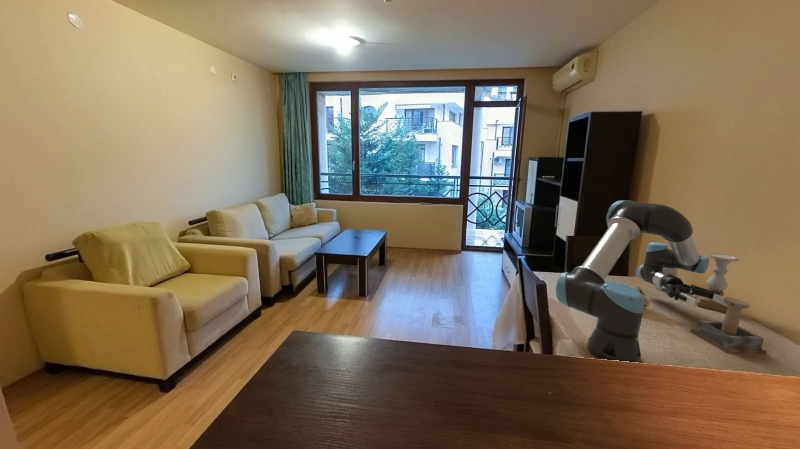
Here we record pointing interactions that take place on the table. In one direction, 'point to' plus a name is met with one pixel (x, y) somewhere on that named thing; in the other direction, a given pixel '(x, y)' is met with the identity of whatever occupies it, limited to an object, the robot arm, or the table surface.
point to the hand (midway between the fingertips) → (712, 303)
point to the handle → (732, 315)
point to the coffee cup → (668, 270)
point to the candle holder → (717, 282)
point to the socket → (729, 338)
